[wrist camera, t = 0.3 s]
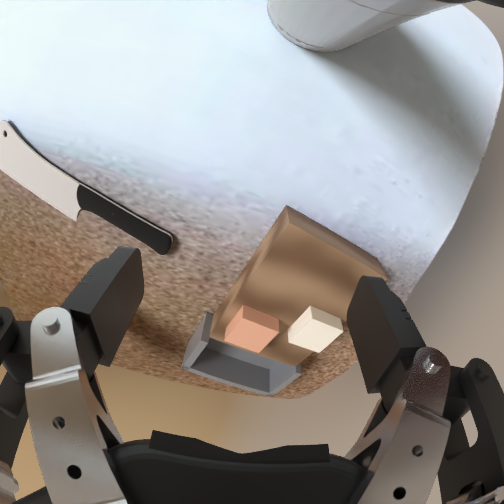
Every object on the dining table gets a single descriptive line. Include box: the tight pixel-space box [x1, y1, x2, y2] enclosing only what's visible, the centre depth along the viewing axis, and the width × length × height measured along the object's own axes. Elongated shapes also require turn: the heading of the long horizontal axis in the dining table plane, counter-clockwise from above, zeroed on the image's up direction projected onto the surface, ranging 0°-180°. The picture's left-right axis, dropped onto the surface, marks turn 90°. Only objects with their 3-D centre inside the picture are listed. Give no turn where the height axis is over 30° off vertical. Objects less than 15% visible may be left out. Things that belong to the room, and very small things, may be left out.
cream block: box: [288, 306, 343, 353], centre depth 30 cm, size 4×4×2 cm
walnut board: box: [209, 205, 388, 367], centre depth 32 cm, size 18×13×4 cm
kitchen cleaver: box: [0, 120, 173, 255], centre depth 27 cm, size 31×2×10 cm
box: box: [181, 312, 302, 397], centre depth 38 cm, size 8×15×5 cm, turn 61°
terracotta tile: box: [224, 305, 279, 353], centre depth 30 cm, size 4×4×2 cm
